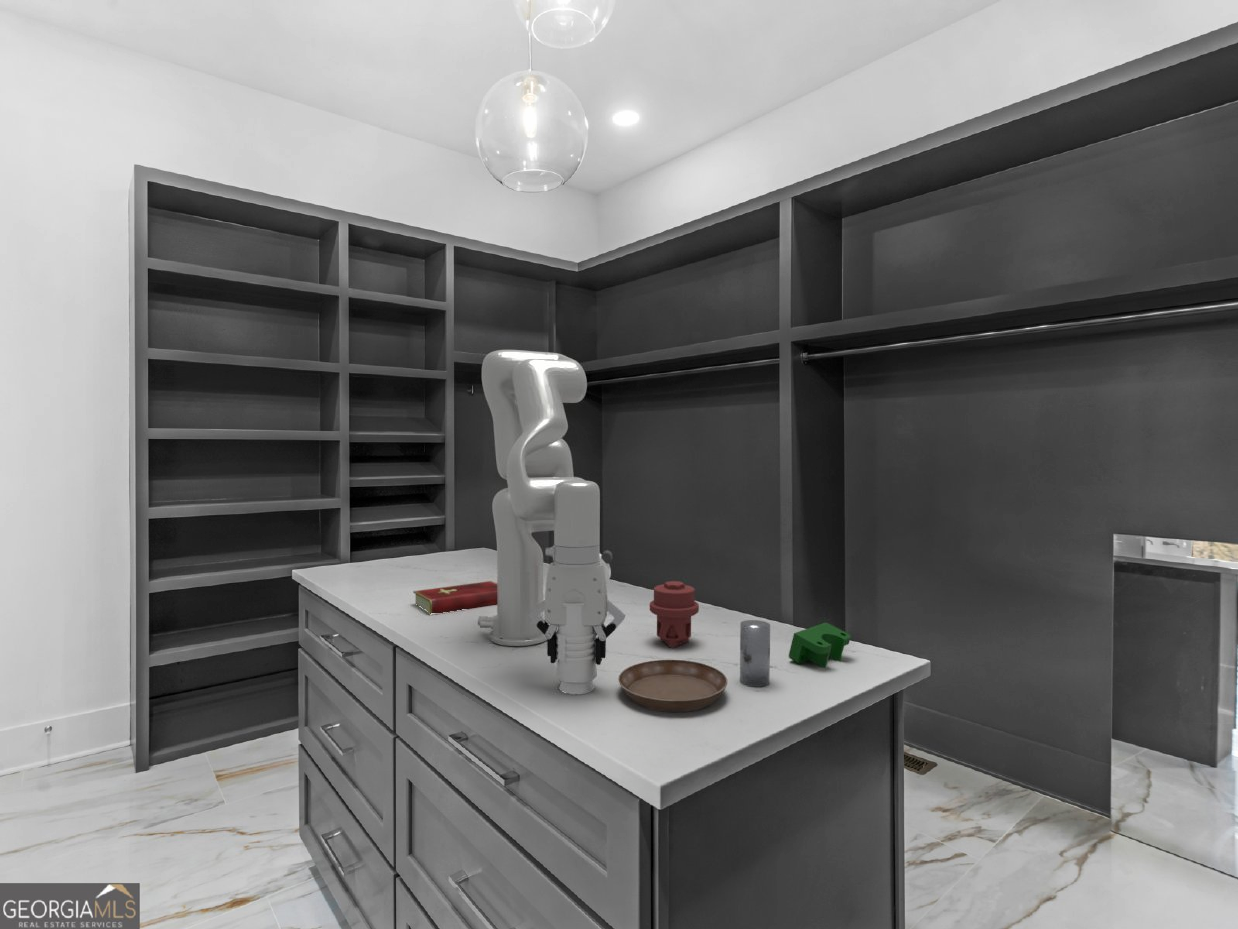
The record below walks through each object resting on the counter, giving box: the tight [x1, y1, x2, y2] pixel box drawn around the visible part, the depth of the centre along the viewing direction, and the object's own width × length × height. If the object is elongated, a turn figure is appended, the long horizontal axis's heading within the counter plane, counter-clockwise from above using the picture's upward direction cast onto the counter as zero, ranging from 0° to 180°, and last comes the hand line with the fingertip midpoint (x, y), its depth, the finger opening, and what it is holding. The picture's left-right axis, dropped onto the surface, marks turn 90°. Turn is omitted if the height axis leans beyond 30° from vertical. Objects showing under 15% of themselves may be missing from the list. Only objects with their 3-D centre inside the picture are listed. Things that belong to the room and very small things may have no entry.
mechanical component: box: [649, 580, 700, 648], centre depth 133 cm, size 12×10×10 cm
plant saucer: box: [617, 659, 728, 713], centre depth 106 cm, size 18×18×3 cm
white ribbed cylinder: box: [555, 602, 598, 695], centre depth 108 cm, size 7×7×15 cm
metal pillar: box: [739, 619, 771, 688], centre depth 111 cm, size 5×5×10 cm
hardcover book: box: [413, 580, 497, 615], centre depth 164 cm, size 12×21×4 cm, turn 126°
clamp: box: [788, 622, 852, 668], centre depth 122 cm, size 12×6×9 cm, turn 125°
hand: (576, 660), depth 108 cm, fingers closed on white ribbed cylinder, 6 cm apart
